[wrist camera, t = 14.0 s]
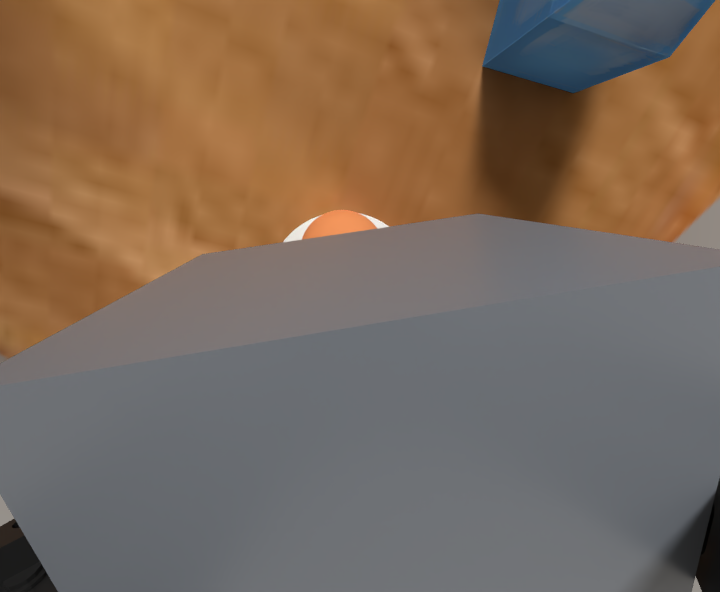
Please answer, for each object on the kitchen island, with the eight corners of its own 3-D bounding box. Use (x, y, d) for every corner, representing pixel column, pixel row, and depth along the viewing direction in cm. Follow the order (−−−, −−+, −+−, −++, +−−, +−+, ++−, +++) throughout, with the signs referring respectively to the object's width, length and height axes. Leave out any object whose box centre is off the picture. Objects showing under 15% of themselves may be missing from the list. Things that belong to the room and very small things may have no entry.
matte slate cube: (202, 254, 12) (-59, 395, 4) (478, 213, 13) (773, 257, 4) (264, 478, 15) (195, 824, 7) (483, 436, 16) (663, 706, 8)
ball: (311, 320, 20) (307, 267, 24) (395, 304, 20) (378, 254, 24) (291, 251, 16) (289, 202, 20) (392, 233, 17) (373, 187, 20)
